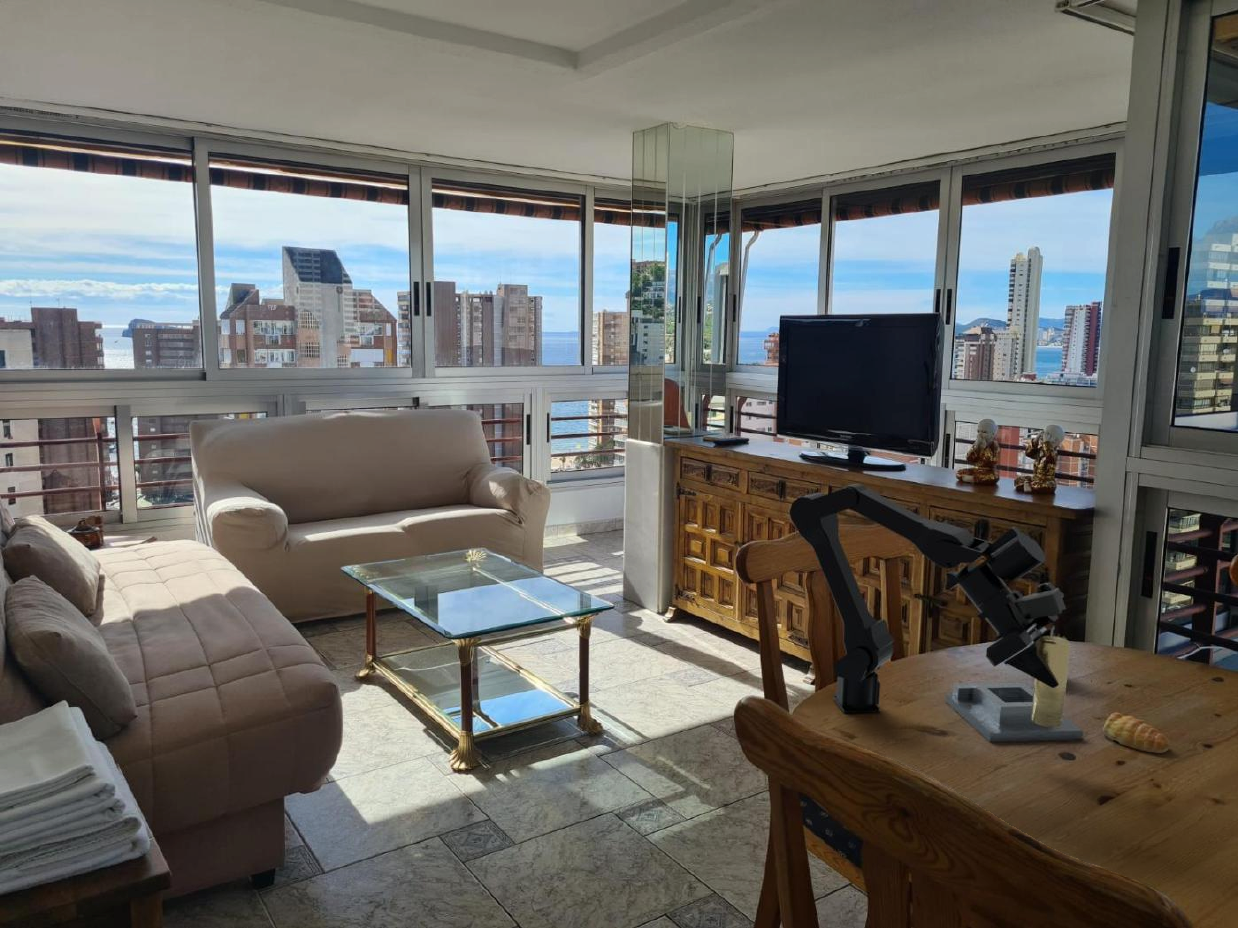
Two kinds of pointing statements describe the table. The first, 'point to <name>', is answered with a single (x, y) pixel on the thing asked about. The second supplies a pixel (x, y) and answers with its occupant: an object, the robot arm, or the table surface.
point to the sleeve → (1044, 697)
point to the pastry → (1135, 733)
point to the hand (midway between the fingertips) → (1060, 681)
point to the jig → (1005, 712)
